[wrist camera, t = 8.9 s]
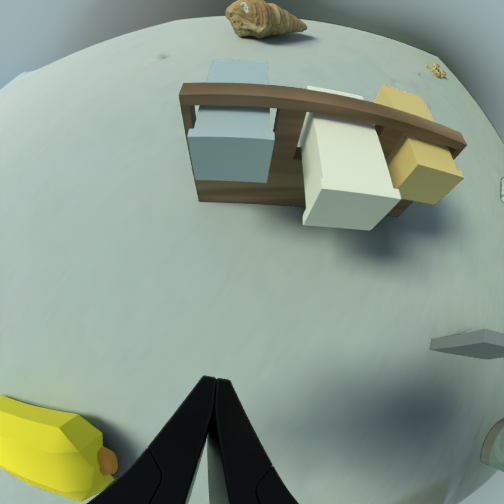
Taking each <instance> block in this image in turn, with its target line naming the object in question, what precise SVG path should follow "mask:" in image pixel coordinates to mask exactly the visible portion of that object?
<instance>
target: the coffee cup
mask: <svg viewBox="0 0 504 504" xmlns="http://www.w3.org/2000/svg"><path fill="white" fill-rule="evenodd" d="M481 461H482V462H483V463H485V464H487V465H489V466H492V467H494V468H496V469H499V470H501V471H504V421H499V422H498V423H496V424H495V425H494V426H493V428H492V429H491V430H490V432H489V434H488V435H487V437H486V439H485V442H484V444H483V447H482V451H481Z"/></svg>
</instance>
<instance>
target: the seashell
mask: <svg viewBox="0 0 504 504" xmlns="http://www.w3.org/2000/svg"><path fill="white" fill-rule="evenodd" d="M226 17H227V19H229V20H230V22H231V25H232V27H233V28H234V32H235V34H237V35H238V36H239V37H241V36H247V37H249V36H254V37H256V38H258V39H260V38H263V37H267V36H270V35H276V34H283V33H284V34H286V33H291V32H292V33H294V32H303V31H304V30H307V26H306V24H305V23H303V22H302V21H301V20H299V19H298V18H296V17H295V16H293V15H291V14H290V13H288V12H287V11H286V10H282V9H281V8H280V7H278V6H277V5H275V4H272V3H266V2H264V1H263V0H238V1H236V2H234V3H232V4H231V5H230V6H229V7H228V8H227V9H226Z"/></svg>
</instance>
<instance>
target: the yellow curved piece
mask: <svg viewBox="0 0 504 504" xmlns="http://www.w3.org/2000/svg"><path fill="white" fill-rule="evenodd" d="M0 467H1V468H2V469H4V470H5V471H7V472H9V473H10V474H12V475H14V476H15V477H17V478H19V479H20V480H22V481H24V482H26V483H28V484H31V485H33V486H36V487H38V488H41V489H44V490H46V491H49V492H52V493H55V494H58V495H61V496H64V497H67V498H71V499H74V500H78V501H83V500H85V499H88V498H90V497H92V496H94V495H95V494H97V493H99V492H100V491H102V490H103V489H104V488H105V487H106V486H108V485H109V484H110V483H111V482H112V481H113V480H115V479H114V478H113V477H112V475H111V474H115V473H116V471H117V469H118V460H117V456H116V454H115V453H114V452H113V451H112V450H110V449H108V448H106V447H104V446H103V433H102V432H101V431H99V430H98V429H97V428H95V427H94V426H93V425H91V424H90V423H89V422H87V421H86V420H85V419H84V418H82V417H81V416H80V415H79V414H73V413H67V412H62V411H56V410H51V409H46V408H42V407H37V406H33V405H29V404H25V403H22V402H19V401H16V400H14V399H11V398H8V397H5V396H3V395H0Z"/></svg>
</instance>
